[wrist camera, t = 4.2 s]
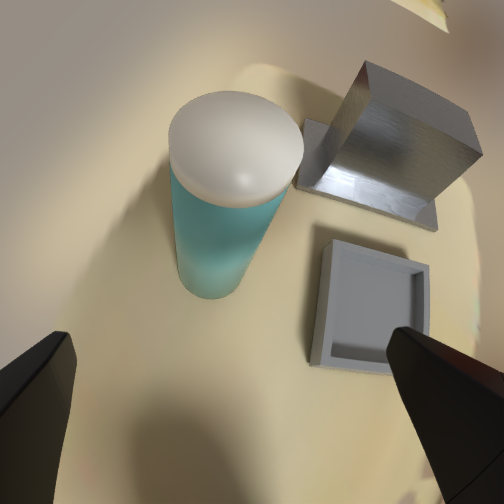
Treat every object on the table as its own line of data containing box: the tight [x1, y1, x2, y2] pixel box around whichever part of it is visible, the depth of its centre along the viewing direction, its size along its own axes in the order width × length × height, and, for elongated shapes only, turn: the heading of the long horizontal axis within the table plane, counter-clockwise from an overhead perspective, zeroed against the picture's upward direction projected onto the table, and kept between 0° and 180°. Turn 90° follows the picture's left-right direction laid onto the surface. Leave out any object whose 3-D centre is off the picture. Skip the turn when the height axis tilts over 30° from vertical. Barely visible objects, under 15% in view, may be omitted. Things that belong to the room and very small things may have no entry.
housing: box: [296, 61, 483, 232], centre depth 23 cm, size 8×14×10 cm, turn 80°
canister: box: [169, 91, 304, 299], centre depth 16 cm, size 4×4×13 cm
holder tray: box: [309, 239, 430, 376], centre depth 22 cm, size 9×9×2 cm
